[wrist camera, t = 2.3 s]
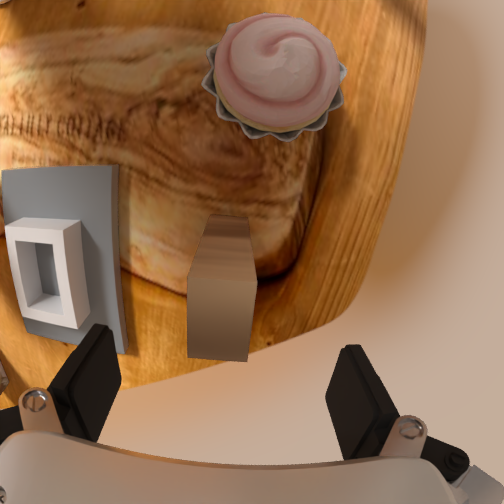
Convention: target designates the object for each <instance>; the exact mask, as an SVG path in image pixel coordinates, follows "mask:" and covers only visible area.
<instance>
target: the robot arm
mask: <svg viewBox="0 0 504 504" xmlns="http://www.w3.org/2000/svg"><path fill="white" fill-rule="evenodd" d="M8 1H11V0H0V4H3V3H6V2H8ZM120 385H121V373H120V368H119V363H118V358H117V353H116V347H115V341H114V335H113V331H112V330H111V329H109V326H108V325H103V324H98V323H95V324H94V325H93V326H92V327H91V329H90V330H89V331H88V333H87V334H86V335H85V337H84V338H83V339H82V341H81V342H80V344H79V345H78V346H77V348H76V349H75V350H74V351H73V352H72V353H71V354H70V356H69V357H68V359H67V360H66V361H65V363H64V364H63V366H62V367H61V369H60V370H59V372H58V373H57V375H56V376H55V378H54V379H53V381H52V382H51V384H50V385H49V387H48V388H47V390H46V389H43V388H39V387H34V388H30V389H27V390H26V391H24V392H23V393H22V394H21V395H20V398H19V405H18V406H14V407H11V408H7V409H3V410H0V504H501V503H502V501H503V499H504V487H503V485H502V484H501V483H500V482H498V481H496V480H495V479H494V478H492V477H491V476H489V475H488V474H487V473H485V472H483V471H482V470H481V469H480V468H478V467H477V466H475V465H473V466H472V467H471V466H470V465H469V462H470V461H469V457H468V455H467V454H466V453H465V452H464V451H463V450H461V449H459V448H457V447H454V446H452V445H449V444H447V443H444V442H442V441H439V440H437V439H434V438H432V437H429V436H427V427H426V425H425V423H424V422H423V421H422V420H421V419H419V418H417V417H415V416H412V415H404V416H401V417H400V415H399V413H398V411H397V409H396V407H395V405H394V403H393V402H392V400H391V398H390V396H389V394H388V392H387V390H386V388H385V387H384V385H383V383H382V381H381V380H380V377H379V376H378V375H377V374H376V372H375V370H374V368H373V366H372V365H371V363H370V361H369V359H368V357H367V356H366V354H365V352H364V350H363V348H362V347H361V345H357V344H356V345H346V346H345V348H342V349H341V351H340V354H339V357H338V360H337V363H336V366H335V369H334V372H333V375H332V377H331V380H330V383H329V386H328V389H327V391H326V396H325V399H326V403H327V407H328V410H329V413H330V416H331V419H332V423H333V426H334V429H335V432H336V436H337V439H338V442H339V446H340V449H341V452H342V456H343V459H344V461H334V462H323V463H311V464H295V465H234V464H218V463H205V462H196V461H187V460H180V459H172V458H166V457H160V456H153V455H148V454H143V453H138V452H133V451H129V450H124V449H120V448H116V447H111V446H107V445H103V444H99V443H96V442H97V440H98V438H99V436H100V433H101V431H102V428H103V426H104V423H105V421H106V418H107V416H108V414H109V411H110V409H111V406H112V404H113V402H114V399H115V397H116V395H117V392H118V390H119V388H120Z"/></svg>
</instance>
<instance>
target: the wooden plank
mask: <svg viewBox="0 0 504 504" xmlns="http://www.w3.org/2000/svg"><path fill="white" fill-rule="evenodd" d="M256 289H257V277H256V271H255V264H254V257H253V251H252V244H251V238H250V231H249V224H248V218H246V217H235V216H223V215H210V217H209V219H208V222H207V225H206V227H205V230H204V233H203V235H202V238H201V241H200V243H199V246H198V249H197V251H196V254H195V257H194V260H193V262H192V265H191V268H190V271H189V274H188V276H187V355H188V358H198V359H210V360H223V361H238V362H247V359H248V352H249V344H250V336H251V328H252V320H253V313H254V305H255V297H256Z"/></svg>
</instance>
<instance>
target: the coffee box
mask: <svg viewBox="0 0 504 504" xmlns="http://www.w3.org/2000/svg"><path fill="white" fill-rule="evenodd" d="M8 383H9V381H8V378H7V376H6V374H5V371H4V369H3V366H2V364H1V361H0V395H1V394H2V392H3V391H4V389H5V388H6V386H7V385H8Z"/></svg>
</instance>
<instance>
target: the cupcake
mask: <svg viewBox="0 0 504 504" xmlns="http://www.w3.org/2000/svg"><path fill="white" fill-rule="evenodd" d="M206 56H207V58H208V60H209V63H210V65H211V69H210V70H209V72H208V73H207V74H206V76H205V77H204V79H203V81H202V84H201V85H202V86H203V88H204V89H205V90H207V91H208V92H209V93H211V94H212V95H214V96H215V97H216V112H217V115H218V117H219V118H221V119H223V120H226V121H233V122H238V123H239V125H240V126H241V128H242V130H243V132H244V134H245V135H246V136H248V137H249V138H250V139H258V138H261V137H264V136H266V135H269V134H271V135H272V136H274V137H276V138H277V139H279V140H280V141H285V142H290V141H292V140H294V139H296V138H297V137H298V136H299V135H300V134H301V133H302V131H303V130H306V131H317V130H319V129H322V128H323V127H324V125H325V124H326V123H327V118H328V112H330V111H332V110H335V109H337V108H339V107H340V106H341V105H342V104H344V98H343V94H342V91H341V88H340V86H339V84H340V83H341V82H342V80H343V79H344V77H345V76H346V74H347V69H346V67H345V66H344V65H343V64H342V63H341V62H340V61H338V58H337V54H336V52H335V50H334V48H333V44H332V43H331V41H330V40H329V39H328V38H327V37H325V36H324V35H323V34H322V33H321V32H320V31H319V30H318V29H317V28H316V27H314V26H313V25H312V24H310V23H309V22H307V21H304V20H303V19H302V18H294V17H291V16H289V15H284V14H274V13H265V12H264V13H262V14H259V15H255V16H252V17H248V18H246V19H244V20H242V21H240V22H238V23H231V24H229V25H228V27H227V29H226V34H225V35H224V36H223V37H222V39H221V41H220V42H219V43H217V44H215V45H213V46H211V47H209V48H208V49H207V50H206Z"/></svg>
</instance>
